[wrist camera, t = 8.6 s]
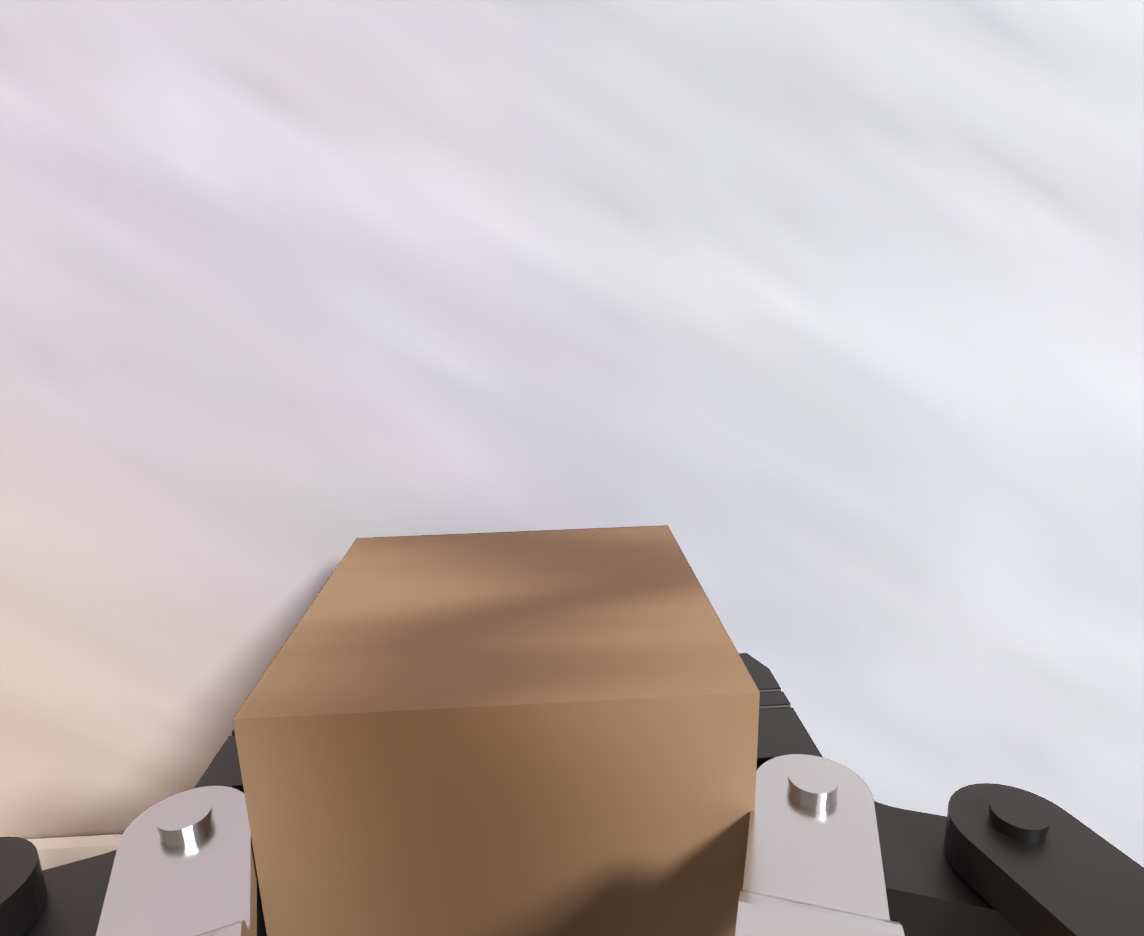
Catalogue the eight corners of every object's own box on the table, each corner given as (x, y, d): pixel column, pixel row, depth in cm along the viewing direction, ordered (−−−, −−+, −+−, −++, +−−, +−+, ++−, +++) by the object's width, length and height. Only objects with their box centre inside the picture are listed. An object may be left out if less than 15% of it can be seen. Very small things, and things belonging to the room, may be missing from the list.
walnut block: (667, 525, 12) (759, 692, 7) (665, 789, 13) (742, 1085, 8) (356, 538, 12) (233, 720, 7) (384, 805, 13) (295, 1119, 8)
